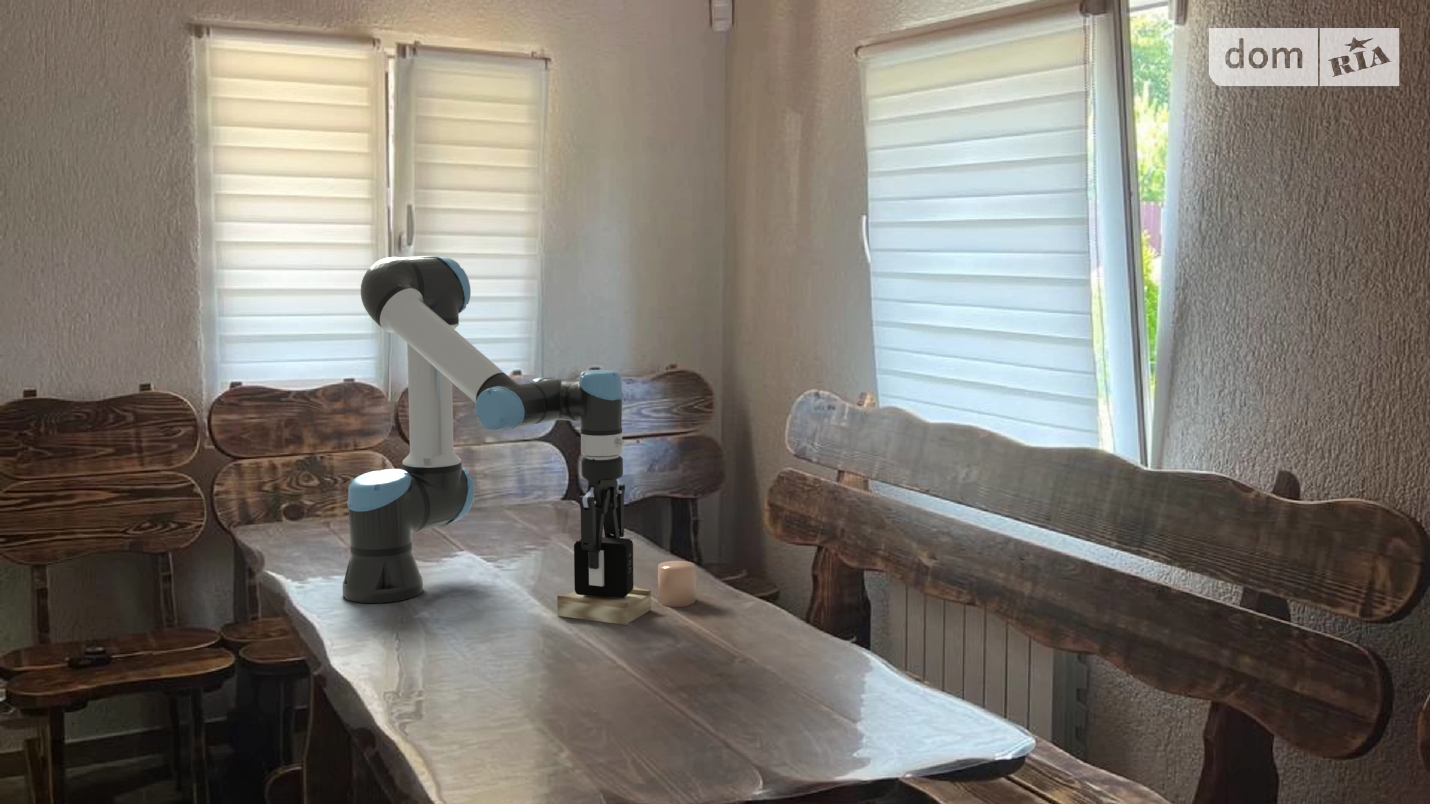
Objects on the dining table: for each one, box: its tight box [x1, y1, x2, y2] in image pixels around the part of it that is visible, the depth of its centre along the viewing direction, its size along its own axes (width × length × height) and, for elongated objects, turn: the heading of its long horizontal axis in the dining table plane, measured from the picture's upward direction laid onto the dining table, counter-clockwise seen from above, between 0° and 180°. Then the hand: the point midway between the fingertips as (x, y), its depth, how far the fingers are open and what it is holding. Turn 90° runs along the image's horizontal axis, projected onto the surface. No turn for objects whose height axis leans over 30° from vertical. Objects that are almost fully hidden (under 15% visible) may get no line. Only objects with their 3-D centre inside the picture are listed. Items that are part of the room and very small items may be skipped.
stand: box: [556, 587, 652, 626], centre depth 240 cm, size 14×10×4 cm
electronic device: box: [573, 536, 634, 598], centre depth 239 cm, size 4×10×10 cm, turn 77°
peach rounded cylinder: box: [657, 560, 696, 608], centre depth 247 cm, size 7×7×7 cm
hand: (603, 581), depth 239 cm, fingers closed on electronic device, 5 cm apart
